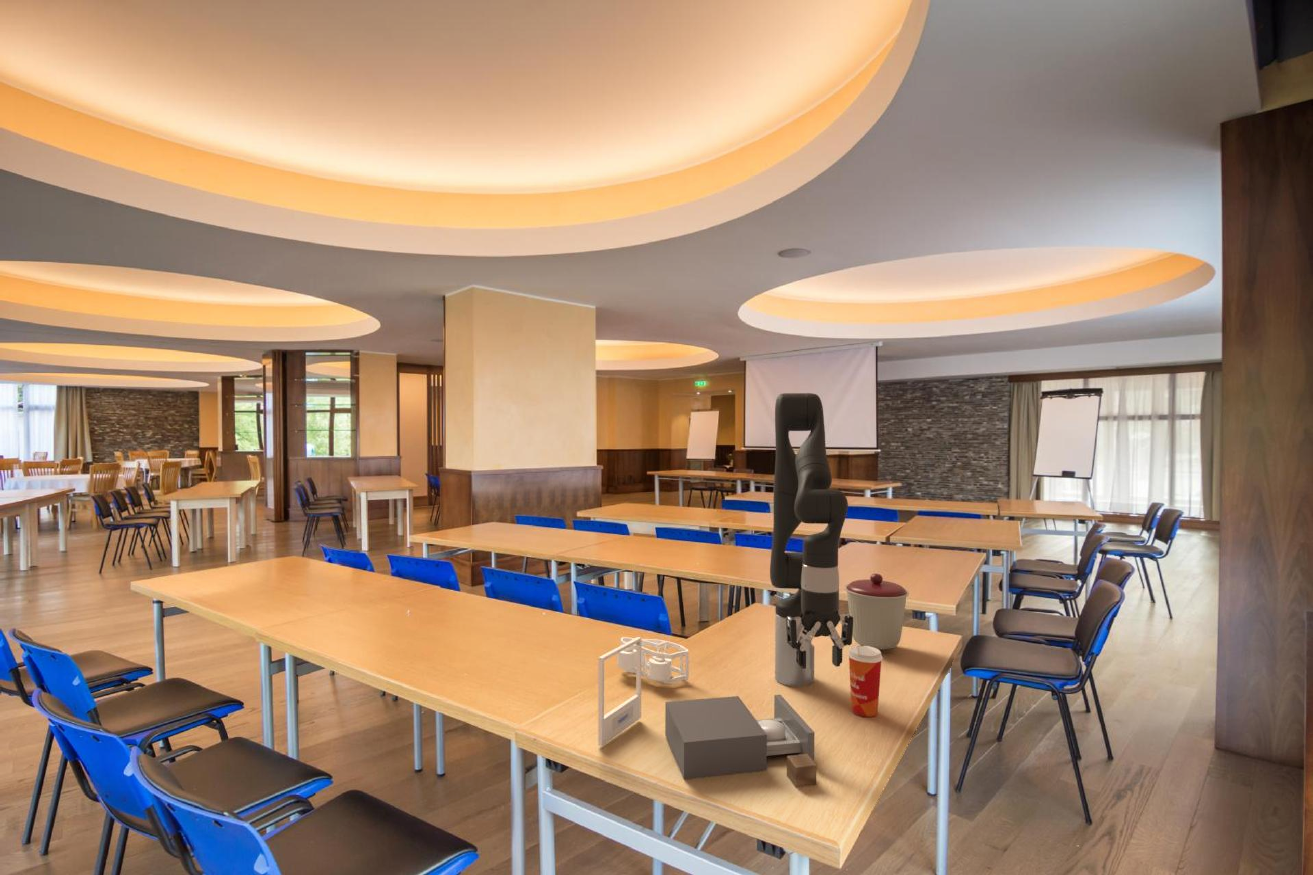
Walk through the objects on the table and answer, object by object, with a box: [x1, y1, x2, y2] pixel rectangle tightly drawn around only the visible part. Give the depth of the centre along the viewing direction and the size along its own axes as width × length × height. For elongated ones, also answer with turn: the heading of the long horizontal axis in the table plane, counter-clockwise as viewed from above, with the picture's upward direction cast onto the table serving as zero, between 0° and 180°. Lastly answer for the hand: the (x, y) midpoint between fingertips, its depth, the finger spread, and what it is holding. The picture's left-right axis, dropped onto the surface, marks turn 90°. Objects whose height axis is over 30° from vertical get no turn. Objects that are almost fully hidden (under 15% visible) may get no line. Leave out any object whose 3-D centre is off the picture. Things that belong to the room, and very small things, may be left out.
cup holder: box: [616, 636, 690, 685], centre depth 164 cm, size 20×11×7 cm, turn 50°
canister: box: [844, 573, 910, 651], centre depth 186 cm, size 18×18×21 cm
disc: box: [758, 719, 785, 742], centre depth 126 cm, size 6×6×2 cm
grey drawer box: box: [664, 695, 768, 781], centre depth 124 cm, size 16×17×7 cm
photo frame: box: [597, 636, 642, 747], centre depth 133 cm, size 15×1×18 cm, turn 149°
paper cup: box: [846, 645, 884, 718], centre depth 142 cm, size 8×8×14 cm
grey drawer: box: [756, 694, 815, 763], centre depth 126 cm, size 15×17×6 cm
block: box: [786, 754, 818, 788], centre depth 114 cm, size 4×4×4 cm
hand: (819, 666), depth 128 cm, fingers open, 7 cm apart
